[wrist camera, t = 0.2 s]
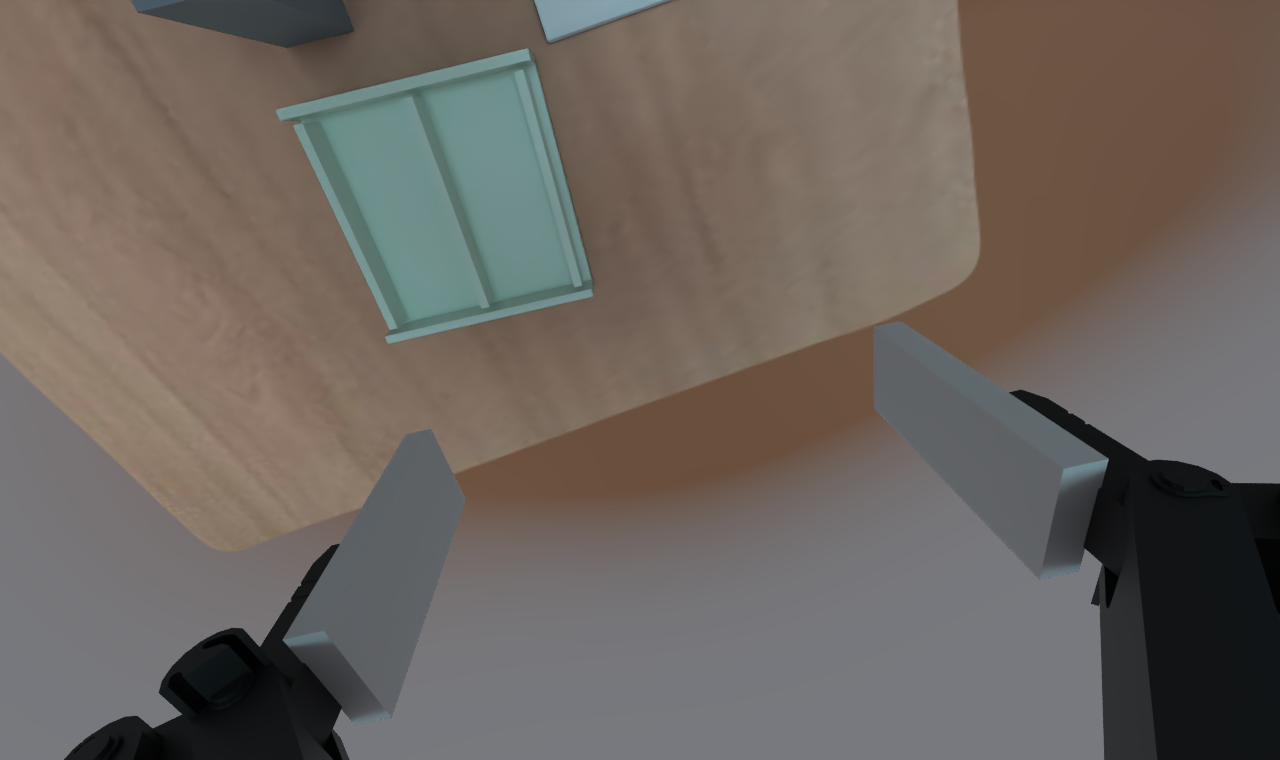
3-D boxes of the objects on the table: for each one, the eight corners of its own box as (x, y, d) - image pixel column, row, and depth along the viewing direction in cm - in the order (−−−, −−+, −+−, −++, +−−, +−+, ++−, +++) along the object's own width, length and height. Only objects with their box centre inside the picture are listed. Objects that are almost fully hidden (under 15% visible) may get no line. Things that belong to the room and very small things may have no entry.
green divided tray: (303, 110, 34) (274, 109, 31) (533, 54, 34) (527, 48, 31) (403, 327, 42) (388, 343, 39) (593, 283, 41) (593, 296, 38)
